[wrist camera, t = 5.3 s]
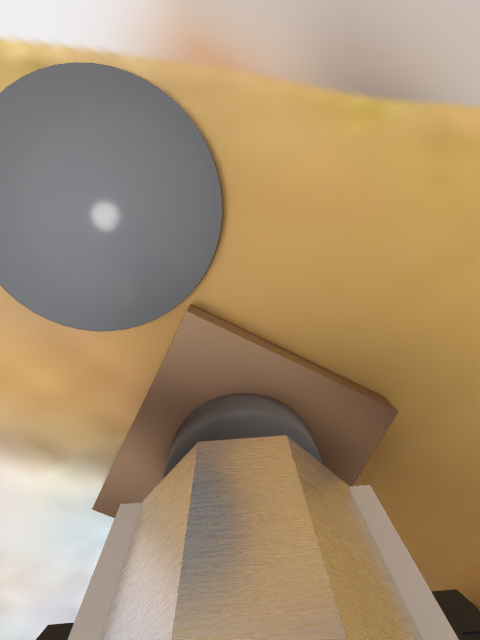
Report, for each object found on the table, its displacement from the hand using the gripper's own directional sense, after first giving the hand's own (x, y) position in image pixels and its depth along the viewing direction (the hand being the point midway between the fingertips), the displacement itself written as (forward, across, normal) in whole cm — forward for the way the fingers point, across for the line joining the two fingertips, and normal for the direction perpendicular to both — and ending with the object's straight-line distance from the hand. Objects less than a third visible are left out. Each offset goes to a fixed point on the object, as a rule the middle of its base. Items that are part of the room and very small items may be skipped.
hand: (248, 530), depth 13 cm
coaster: (+5, -5, +11) cm, 13 cm away
